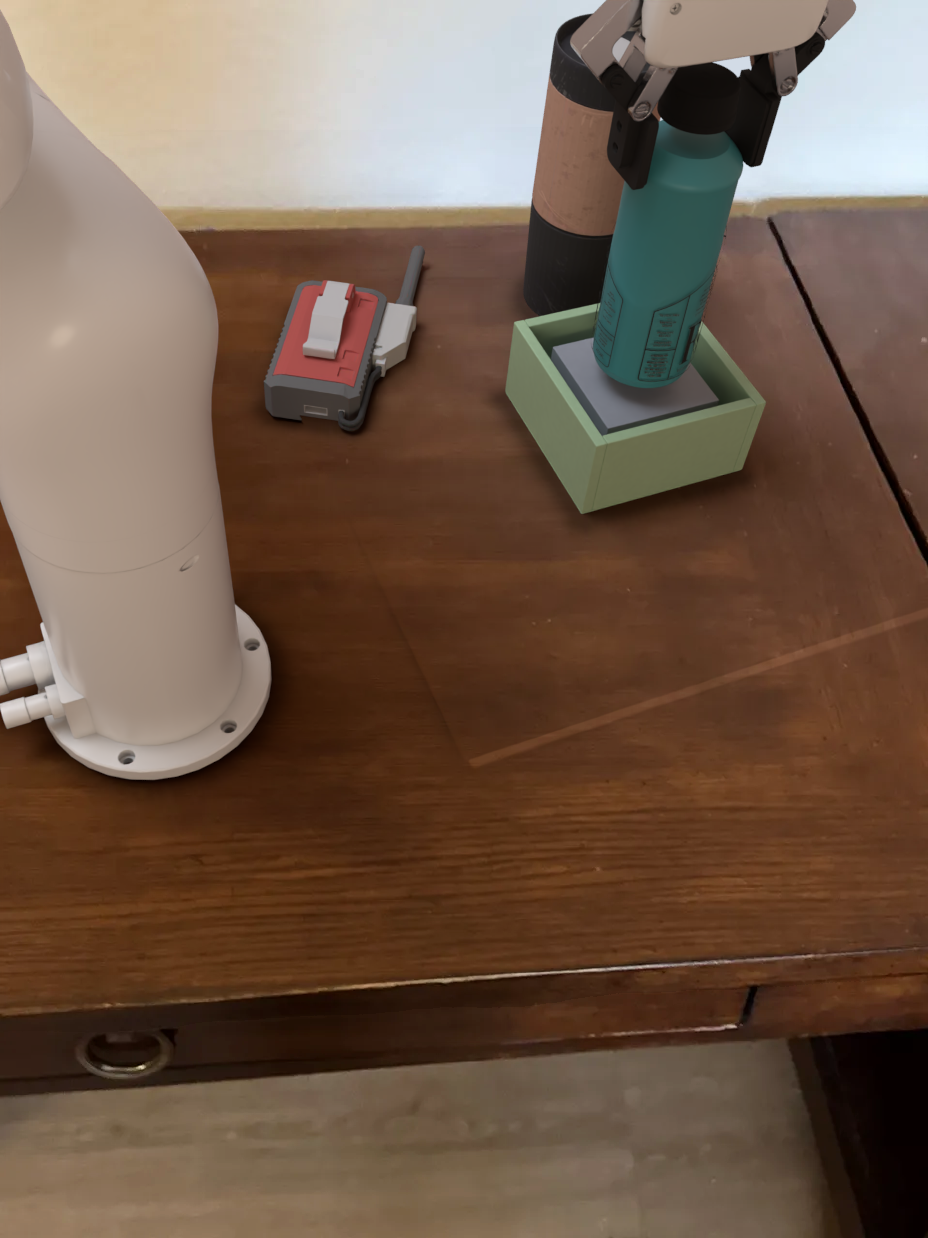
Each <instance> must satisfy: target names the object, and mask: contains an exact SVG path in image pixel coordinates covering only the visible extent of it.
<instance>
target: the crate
mask: <svg viewBox="0 0 928 1238" xmlns="http://www.w3.org/2000/svg"><path fill="white" fill-rule="evenodd" d="M599 307H600V303H598V309H597V304H593V305H589V306H584V307H580V308H575V309H571V310H566V311H562V312H557V313H553V314H548V315H544V316H539V315H538V316H535V317H531V318H526V319H522V320H517V321H514V322H513V327H512V336H511V341H510V342H511V343H510V352H509V359H508V367H507V374H506V382H505V389H504V391H505V394H506V396H507V397H508V399H509V401H511V402H510V403H511V404H512V405H513V407H514V408H515V410H516V412H517V413H518V415H519V416H520V418H521V420H522V421H523V423H524V425H525V426H526V428H527V429H528V432H530V434H531V436H532V437H533V439H534V441H535V443H536V444H537V445H538V447H539V449H540V450H541V452H542V453H543V455H544V456H545V458H546V460H547V461H548V463H549V465H550V467H552V469H553V471H554V473H555V474H556V476H557V477H558V479H559V480H560V483H561V484H562V485H563V487H564V489H565V490H566V492H567V493H568V495H569V497H570V498H571V500H572V502H573V503H574V505H575V507H576V508H577V509H578V512H579V513H580V514H581V515H584V514H587V513H591V512H594V511H598V510H602V509H605V508H609V507H612V506H617V505H619V504H624V503H627V502H630V501H634V500H637V499H641V498H645V497H649V496H652V495H657V494H659V493H663V492H666V491H670V490H674V489H677V488H681V487H685V486H688V485H689V486H690V485H692V484H695V483H699V482H703V481H706V480H710V479H714V478H717V477H722V476H723V475H728V474H731V473H732V474H733V473H735V472H739V471H742V470H743V468H744V465H745V462H746V460H747V457H748V455H749V452H750V448H751V446H752V444H753V443H752V442H753V440H754V437H755V435H756V432H757V429H758V427H759V423H760V421H761V418H762V415H763V413H764V410H765V407H766V404H767V401H766V400H765V399H764V397H763V396H762V395H761V393H760V392H759V391H758V390H757V389H756V387H755V386H754V384H752V382H751V381H750V379H748V377H747V375H746V374H745V373H744V372H743V371H742V369H741V368H740V367H739V366H738V365H737V363H736V362H735V361H734V360H733V358H732V357H731V356H730V355H729V354H728V352H727V351H726V349H725V348H724V347H723V346H722V344H721V343H720V342H719V341H718V340H717V338H716V337H715V335H713V333H712V332H711V330H709V328H708V327H707V326H706V324H705V322H704V321H703V320H702V321H701V325H700V326H699V327H700V328H699V331H698V335H699V334H700V336H699V337H698V336H697V338H696V341H695V343H696V345H697V347H696V345H694V348H693V349H694V351H695V352H694V351H693V352H692V355H691V359H690V363H692V365H693V367H694V368H695V369H696V371H697V372H698V373H699V375H700V376H701V377H702V379H703V380H704V381H705V382H706V384H707V385H708V386H709V388H710V389H711V390H712V392H713V393H714V394H715V396H716V397H717V398H718V399H719V402H718V405H717V406H716V407H712V408H708V409H704V410H700V411H696V412H692V413H688V414H684V415H681V416H677V417H673V418H669V419H665V420H661V421H657V422H653V423H649V424H646V425H642V426H638V427H634V428H630V429H626V430H622V431H618V432H615V433H611V434H607V435H603V436H601V434H600V433H599V431H598V430H597V428H596V427H595V425H594V424H593V422H592V421H591V419H590V418H589V416H588V415H587V413H586V412H585V410H584V409H583V407H582V406H581V404H580V403H579V401H578V400H577V398H576V397H575V395H574V394H573V392H572V391H571V389H570V388H569V386H568V385H567V383H566V382H565V380H564V379H563V377H562V376H561V374H560V373H559V371H558V370H557V368H556V367H555V365H554V364H553V362H552V361H551V355H552V349H553V347H555V346H559V345H564V344H568V343H572V342H577V341H581V340H585V339H590V338H594V335H595V330H593V326H594V325H595V324H594V323H597V318H598V312H599ZM596 309H597V314H596ZM595 316H596V320H595ZM594 321H595V322H594ZM702 323H703V325H702ZM701 327H702V329H701ZM594 329H596V325H595V327H594ZM700 330H701V332H700ZM593 331H594V332H593ZM592 333H593V334H592ZM698 338H699V340H698V343H697V339H698ZM695 347H696V350H695ZM693 356H694V358H693ZM692 358H693V359H692Z"/></svg>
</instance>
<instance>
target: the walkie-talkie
mask: <svg viewBox="0 0 928 1238" xmlns="http://www.w3.org/2000/svg"><path fill="white" fill-rule="evenodd" d="M425 251H426V250H425V248H424V246H422V245H414V246H413V247H412V249H411V252H410V255H409V259H408V263H407V267H406V270H405V275H404V278H403V281H402V285H401V288H400V289H401V290H400V293H399V296H398V298H397V299H396V300H395V303H393V302H388V298H387V296H386V295H385V294H384V293H383V292H381V291H378V290H377V289H374V288H368V287H360V286H356V284H355V283H348V282H340V281H334V280H327V279H326V280H325V279H323V280H321V281H320V280H312V279H311V280H308V281H303V282H300V283H299V284H298V285H297V286H296V289H295V292H294V294H293V297H292V300H291V303H290V306H289V308H288V311H287V314H286V317H285V320H284V322H283V327H282V328H281V332H280V337H279V338H278V341H277V343H276V348H274V353H273V354H272V358H271V359H270V364H269V365H268V368H269V369H268V368H267V371H266V373H267V374H265V378H264V380H263V389H264V390H263V391H264V403H265V409H266V410H267V412H268V413H269V414H270V415H271V416H272V417H275V418H283V419H290V420H296V421H302V418H301V417H302V416H303V417H309V418H317V419H322V420H323V419H324V420H330V421H337V423H338V426H339V427H340V429H341V430H345V431H347V432H354V431H356V430H359V429H360V428H361V426H362V425H363V424H364V420H365V416H366V413H367V409H368V407H369V401H370V398H371V394H372V392H373V391H372V390H373V388H374V385H375V383H376V382H377V381H378V380H379V379H380V378H381V377H383V378H384V377H385V376H386V372H387V371H388V370H389V369H390V368H392V367H394V366H395V365H398V363H400V362H402V361H404V360H405V359H406V358H407V355H408V351H409V346H410V342H411V339H412V335H413V332H415V331H416V327H417V319H418V308H417V307H416V306H414V297H415V294H416V291H417V286H418V283H419V278H420V275H421V270H422V266H423V263H424V260H425V255H426V252H425Z"/></svg>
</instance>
